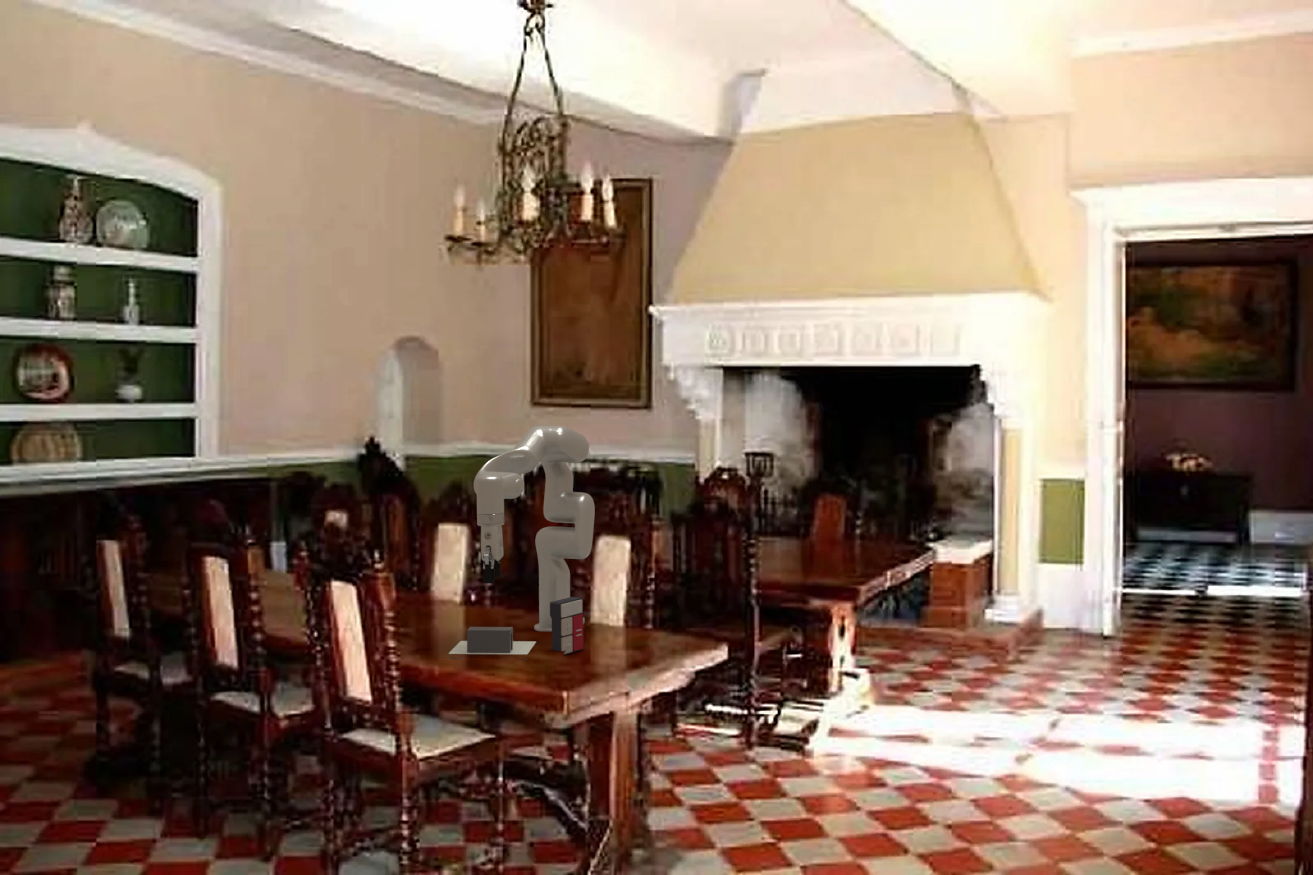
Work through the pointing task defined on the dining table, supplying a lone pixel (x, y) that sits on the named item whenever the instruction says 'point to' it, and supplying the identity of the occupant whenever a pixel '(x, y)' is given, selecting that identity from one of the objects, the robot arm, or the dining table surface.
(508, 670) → the dining table surface
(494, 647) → the housing
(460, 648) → the header board
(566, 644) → the miniature cabinet
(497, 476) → the robot arm
